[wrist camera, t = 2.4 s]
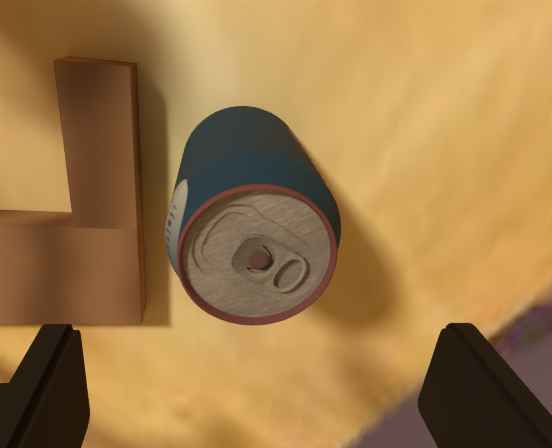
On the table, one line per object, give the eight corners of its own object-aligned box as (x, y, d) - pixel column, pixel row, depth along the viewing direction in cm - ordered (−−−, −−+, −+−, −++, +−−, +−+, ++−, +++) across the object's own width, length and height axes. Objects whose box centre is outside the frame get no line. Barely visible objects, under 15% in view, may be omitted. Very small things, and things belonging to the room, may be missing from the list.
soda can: (163, 177, 25) (123, 294, 15) (222, 77, 23) (225, 128, 13) (258, 229, 28) (284, 362, 17) (320, 142, 26) (392, 231, 15)
